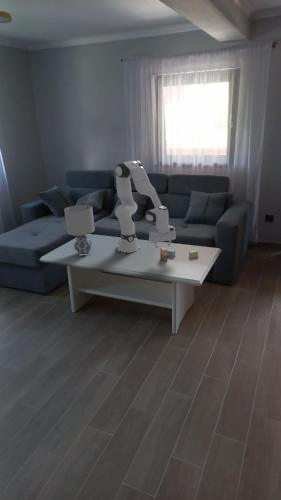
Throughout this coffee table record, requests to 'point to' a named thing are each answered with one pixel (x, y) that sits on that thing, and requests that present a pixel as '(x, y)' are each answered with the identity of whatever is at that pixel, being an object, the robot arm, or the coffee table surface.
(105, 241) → the coffee table surface
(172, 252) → the slate blue brick
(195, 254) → the olive brick
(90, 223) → the lamp
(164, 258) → the walnut brick
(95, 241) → the coffee table surface
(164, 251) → the terracotta brick
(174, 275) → the coffee table surface
